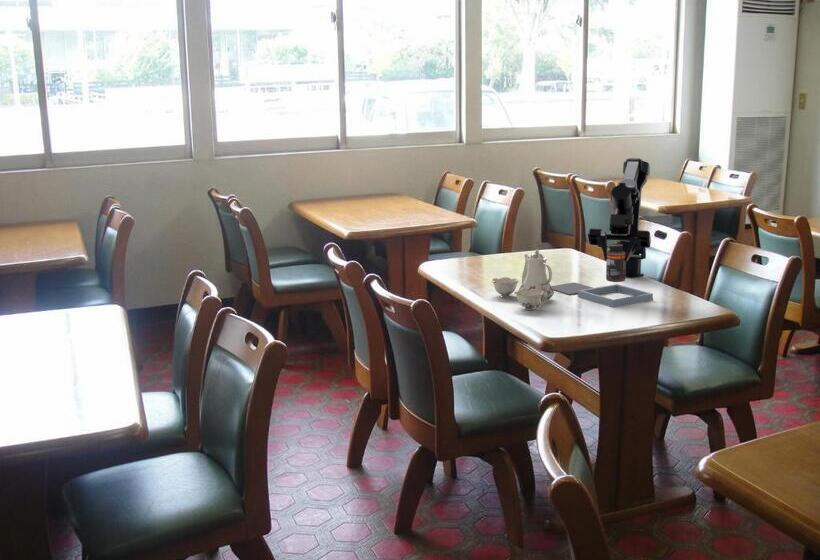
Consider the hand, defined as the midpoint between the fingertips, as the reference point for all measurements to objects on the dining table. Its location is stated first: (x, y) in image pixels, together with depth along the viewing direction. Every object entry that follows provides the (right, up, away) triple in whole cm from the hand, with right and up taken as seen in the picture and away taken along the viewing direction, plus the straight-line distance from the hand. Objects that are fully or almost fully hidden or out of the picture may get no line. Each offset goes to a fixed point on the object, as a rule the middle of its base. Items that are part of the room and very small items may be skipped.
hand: (615, 260), depth 274 cm
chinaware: (-27, -13, +2) cm, 30 cm away
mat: (-10, -9, +17) cm, 22 cm away
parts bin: (+1, -12, +4) cm, 12 cm away
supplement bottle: (+1, -6, +3) cm, 7 cm away
